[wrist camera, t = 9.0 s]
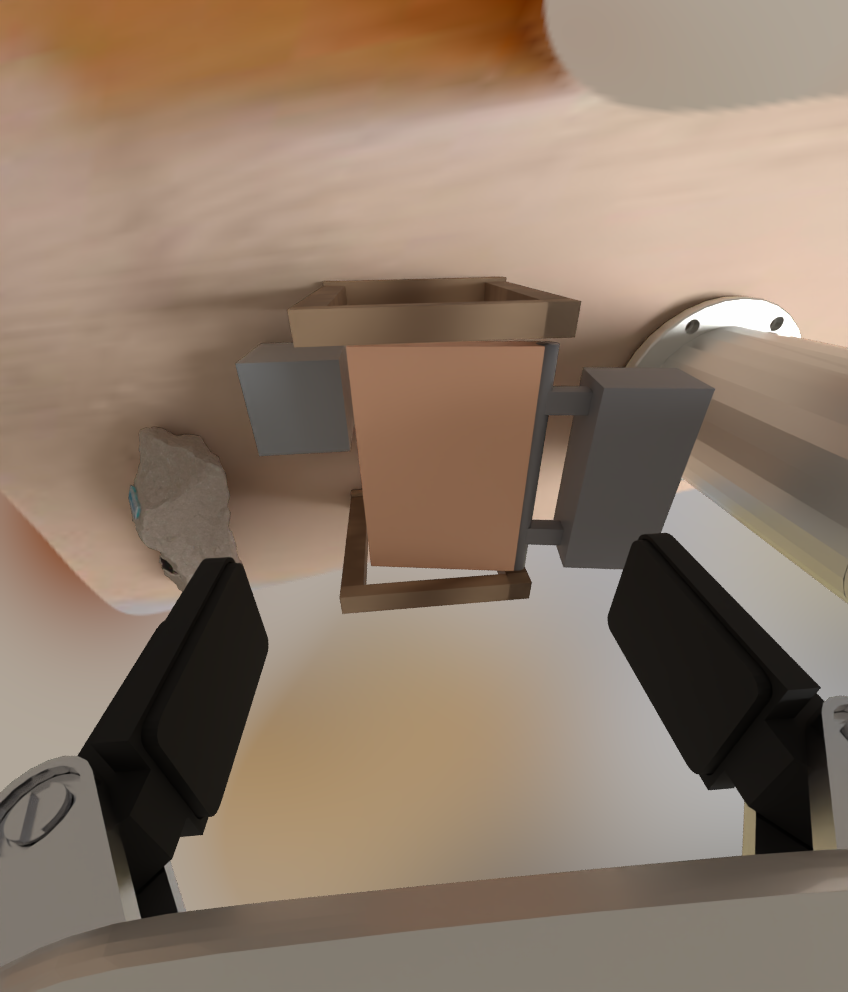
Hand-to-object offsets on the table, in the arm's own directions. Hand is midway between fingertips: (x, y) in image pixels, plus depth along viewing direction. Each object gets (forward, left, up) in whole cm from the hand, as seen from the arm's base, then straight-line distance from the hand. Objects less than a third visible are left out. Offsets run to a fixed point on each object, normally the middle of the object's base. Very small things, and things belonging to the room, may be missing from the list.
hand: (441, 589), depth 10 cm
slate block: (+3, 0, -16) cm, 16 cm away
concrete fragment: (+15, +9, -19) cm, 26 cm away
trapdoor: (-5, +2, -11) cm, 12 cm away
